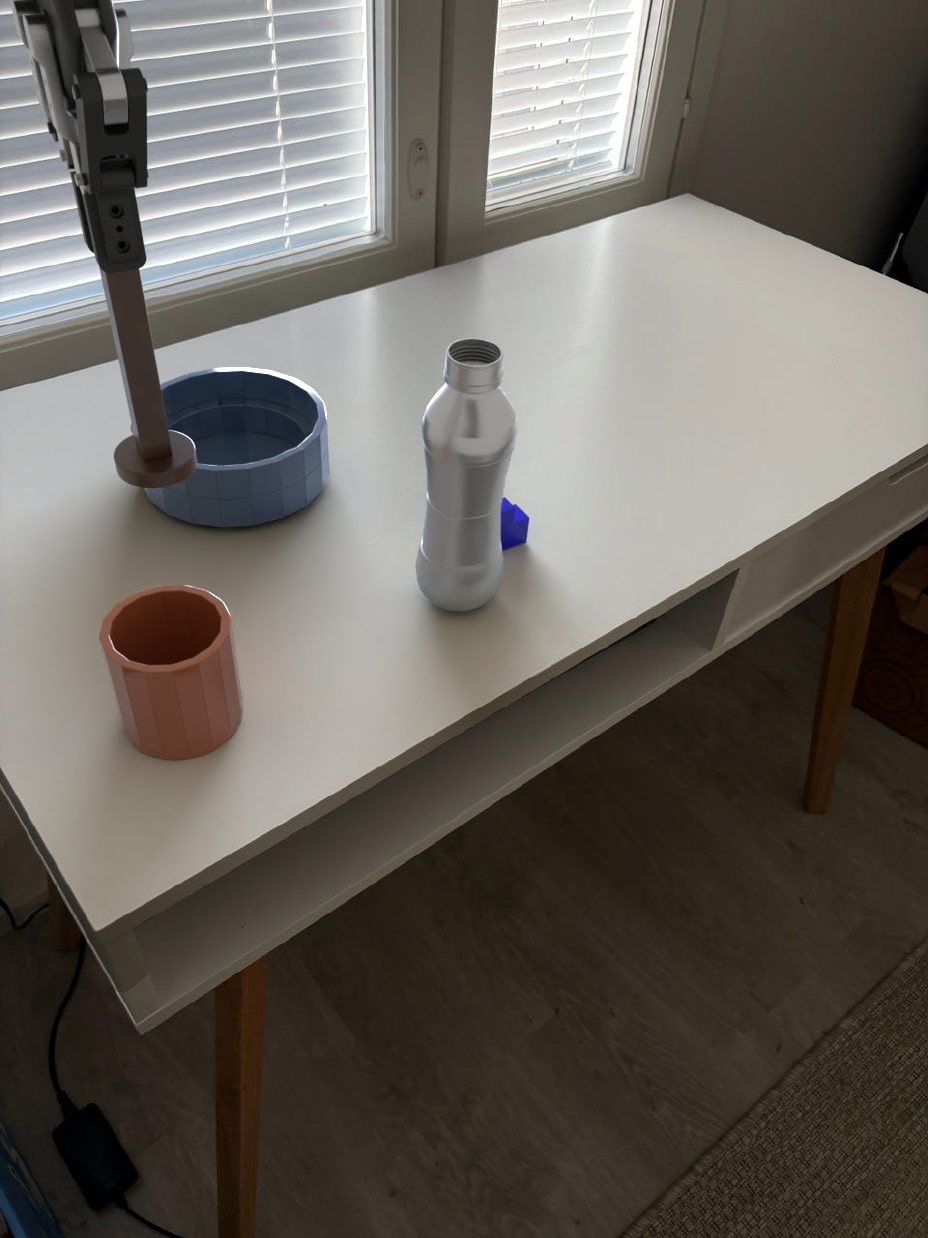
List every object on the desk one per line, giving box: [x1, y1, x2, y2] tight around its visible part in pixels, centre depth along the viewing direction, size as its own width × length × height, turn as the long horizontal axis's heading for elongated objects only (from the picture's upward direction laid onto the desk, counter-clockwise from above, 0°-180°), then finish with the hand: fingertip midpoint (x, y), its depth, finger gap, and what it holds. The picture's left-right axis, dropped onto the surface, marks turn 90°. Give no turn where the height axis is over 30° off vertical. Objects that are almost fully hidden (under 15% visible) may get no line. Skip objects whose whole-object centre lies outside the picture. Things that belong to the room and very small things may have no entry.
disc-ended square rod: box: [98, 155, 197, 489], centre depth 51 cm, size 4×4×17 cm
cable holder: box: [501, 496, 530, 552], centre depth 82 cm, size 8×4×4 cm, turn 31°
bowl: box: [130, 366, 330, 528], centre depth 84 cm, size 15×15×6 cm
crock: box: [98, 584, 244, 761], centre depth 63 cm, size 8×8×8 cm
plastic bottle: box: [415, 337, 519, 612], centre depth 69 cm, size 6×7×20 cm
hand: (116, 257), depth 48 cm, fingers closed on disc-ended square rod
